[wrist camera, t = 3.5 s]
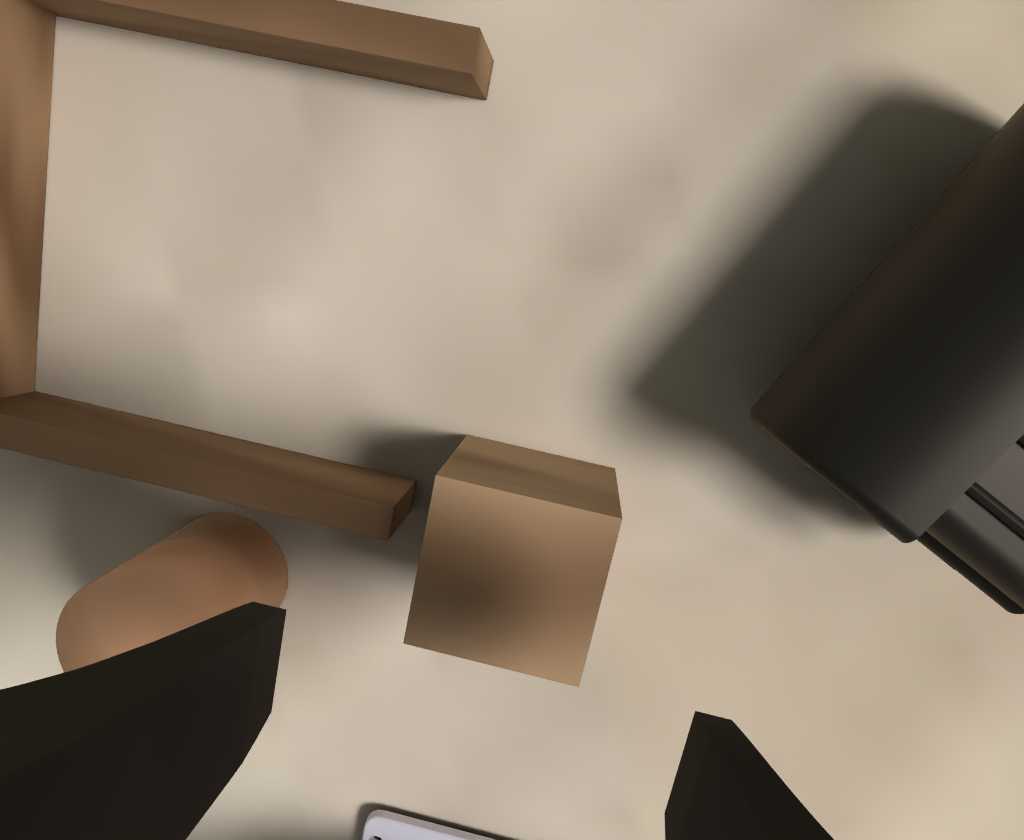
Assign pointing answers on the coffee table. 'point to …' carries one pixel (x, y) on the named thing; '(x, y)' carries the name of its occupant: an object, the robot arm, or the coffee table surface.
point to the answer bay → (20, 223)
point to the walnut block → (515, 559)
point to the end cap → (930, 381)
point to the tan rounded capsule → (172, 588)
